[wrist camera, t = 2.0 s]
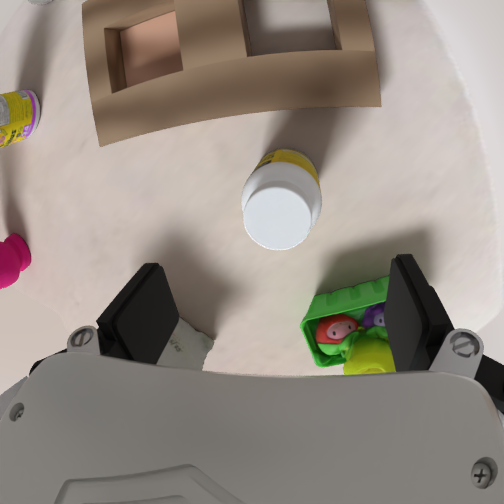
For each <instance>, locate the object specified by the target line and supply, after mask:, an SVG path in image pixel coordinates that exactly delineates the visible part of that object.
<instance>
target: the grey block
mask: <svg viewBox="0 0 504 504" xmlns="http://www.w3.org/2000/svg"><path fill="white" fill-rule="evenodd" d="M213 345H214V341H213V340H212V339H211V338H210V337H208V336H207V335H206V334H204V333H202V332H198V331H195V329H194V328H192V327H191V326H190V325H189V324H188V323H187V322H185V321H184V320H183V319H181V318H180V317H179V322H178V324H177V326H176V328H175V330H174V332H173V333H172V335H171V337H170V339H169V341H168V343H167V345H166V347H165V349H164V351H163V352H162V354H161V356H160V358H159V360H158V362H157V364H156V365H162V366H169V367H176V368H184V369H193V370H202V369H203V364H204V360H205V358H206V357H207V356H206V355H207V353H208V352H209V351H210V350H211V349H212V347H213Z"/></svg>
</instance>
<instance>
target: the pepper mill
mask: <svg viewBox="0 0 504 504" xmlns="http://www.w3.org/2000/svg"><path fill="white" fill-rule="evenodd" d="M30 263H31V255H30V252H29V249H28V247H27V245H26V243H25V242H24V240H23V239H22V238H21V237H20V236H19V235H17V234H11V235H10V236H9V237H7V238H6V239H5V241H4V242H0V289H2V288H5V287H8V286H10V285H12V284H13V283H14V282H16V281H17V279H18V277H19V274H20V271H23V270H25V269H26V268H27V267H28V266H29V265H30Z"/></svg>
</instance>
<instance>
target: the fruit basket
mask: <svg viewBox="0 0 504 504" xmlns="http://www.w3.org/2000/svg"><path fill="white" fill-rule="evenodd" d="M389 277H390V276H386V277H383V278H380V279H378V280H376V281H375V282H374V281H369V282H366V283H362V284H358V285H356V286H354V288H352V287H347V288H344V289H340V290H336V291H334V292H332V293H324V294H320V295H316V296H314V298H313V300H312V302H311V305H310V307H309V310H308V312H307V314H306V316H305V317H304V319H303V320H302V322H301V324H300V328H301V330H302V333H303V335H304V337H305V339H306V342H307V344H308V346H309V349H310V351H311V354H312V357H313V359H314V362H315V364H316V365H317V366H319V367H329V366H334V365H339V364H344V367H343V371H344V374H345V375H354V374H372V373H387V372H395V371H396V370H395V365H394V360H393V356H392V352H391V348H390V343H389V339H388V335H387V331H386V328H385V324H384V308H385V303H386V297H387V290H388V284H389Z"/></svg>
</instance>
